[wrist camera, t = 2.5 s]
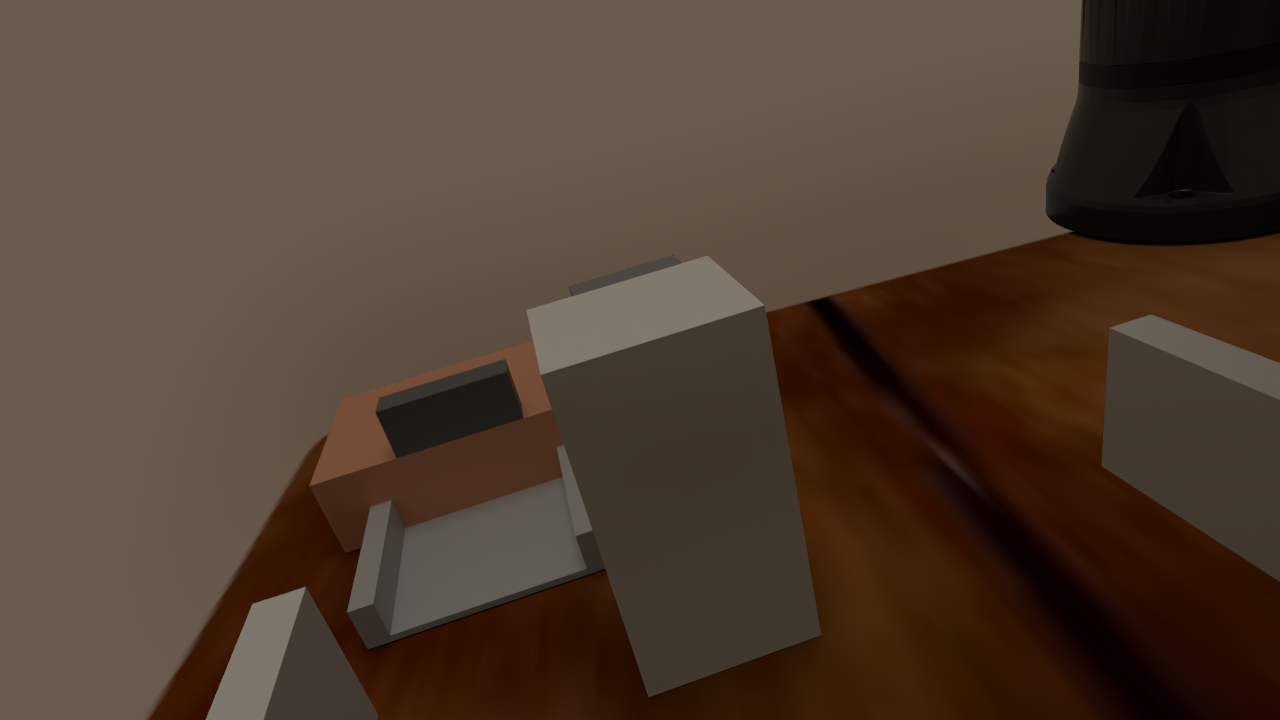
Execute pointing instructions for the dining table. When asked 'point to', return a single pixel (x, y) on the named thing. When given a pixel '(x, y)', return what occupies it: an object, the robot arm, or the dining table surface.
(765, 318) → the tall grey brick
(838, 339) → the dining table surface
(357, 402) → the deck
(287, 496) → the dining table surface
